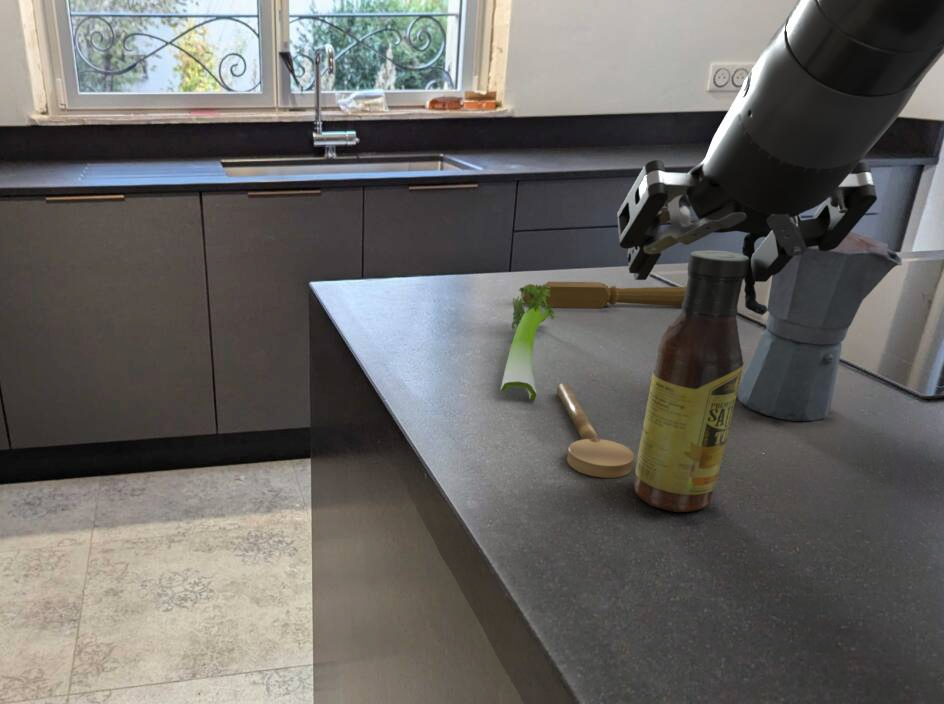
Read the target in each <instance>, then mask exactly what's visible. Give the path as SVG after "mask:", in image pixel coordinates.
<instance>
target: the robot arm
mask: <svg viewBox="0 0 944 704" xmlns="http://www.w3.org/2000/svg"><path fill="white" fill-rule="evenodd" d="M783 21H784V22H783V23H782V24H781V25H780V26H779V28H778V29H777V30H776V31H775V32H774V34H773V35H772V37H771V38H770V39H769V41H768V42H767V44H766V45H765V47H764V48H763V50H762V51H761V53H760V55H759V56H758V58H757V60H756V61H755V63H754V65H753V66H752V69H751V70H750V72H749V73H748V74H747V76H746V77H745V79H744V81H743V83H742V86H741V88H740V90H739V91H738V93H737V95H736V97H734V98H735V99H734V100H733V102H732V103H731V106H730V107H729V109H728V110H727V112H726V114H725V116H724V118H723V119H722V121H721V123H720V125H719V126H718V128H717V130H716V132H715V133H714V135H713V137H712V140H711V142H710V145H709V147H708V150H707V153H706V155H705V156H704V159H703V160H702V161H701V162H699V164H697V165H695V166H693V168H691V169H690V170H689V172H666V170H665V169H666V168H665V163H664V161H662V160H659V159H654V160H651V161H648V162H647V163H645V164H644V166H643V168H642V169H641V171H640V172H639V175H638V176H637V178H636V180H635V181H634V183H633V185H632V186H631V188H630V190H629V192H628V193H627V195H626V197H625V199H624V200H623V202H622V204H621V205H620V208H619V209H618V210H617V213H616V219H617V228H618V229H617V230H618V240H619V247H620V248H622V249H626V250H628V251H627V263H628V272H629V274H633V278H634V280H635V281H646V280H647V279H648V277H649V276H650V274H651V272H652V271H653V269H654V267H655V266H656V264H657V262H658V261H659V259H660V257H661V256H662V252H663V251H664V250H667V249H669V248H670V247H672V246H674V245H677V244H679V243H680V244H683V245H685V246H688V245H690V244H693V243H694V242H697V241H698V240H700V239H703V238H704V237H707V236H708V235H710V234H722V233H723V234H725V233H731V232H740V233H744V234H745V233H746V234H749V233H760V231H761V230H765V229H769V228H770V229H772V231H771V232H770V234H769V235H768V236H767V237H765V239H764V240H763V241H762V242H761V244H760V245H759V246H758V248H756V250H755V253H754V254H753V255H752V258H751V267H752V273H753V279H754V281H755V283H766V282H768V281H769V279H770V278H772V275H775V274H777V273H779V272H780V271H781V270H782V269H783V268H784V267H785V265H786V264H787V263H788V262H789V261H790V260H791V259H792V258H793V256H797V255H800V254H802V253H804V252H805V251H806V250H807V247H813V246H818V249H819V250H820V251H829V250H832V249H835V248H836V247H838V246H839V244H840V243H841V242H842V241H843V240H844V238H845V237H846V236H847V235H848V234H849V232H852V231H853V229H854V228H855V227H856V226H857V224H858V223H859V222H860V221H861V220H862V218H863V217H864V216H865V215H866V213H867V212H868V211H869V210H870V209H871V207H872V206H873V205H874V204H875V203H876V202H877V200H878V196H877V192H876V185H875V182H874V181H875V180H874V176H873V174H872V169H871V165H870V163H869V162H866V161H862V160H863V159H864V158H865V156H866V155H867V154H868V153H869V152H870V151H871V149H872V148H873V147H874V146H875V144H876V143H877V142H878V141H879V140H880V138H881V137H883V135H884V134H885V133H886V131H887V130H888V129H889V128H890V127H891V126H892V125H893V124H894V122H895V121H896V120H897V118H898V117H899V116H900V114H901V113H902V112H903V111H904V110H905V107H906V106H907V105H908V103H909V101H910V100H911V98H912V97H913V95H914V94H915V92H916V90H917V89H918V87H919V85H920V84H921V82H922V81H923V80H924V79H925V77H926V76H927V74H928V73H929V72H930V71H931V70H932V68H933V67H934V66H935V65H936V64H937V62H938V61H939V60H940V59H941V58H942V56H944V0H796V3H795V5H794V7H793V8H792V10H791V11H790V13H789V14H788V16H787V17H786V19H784V20H783ZM818 206H819V207H818ZM816 207H818V209H817V210H816V211H815V213H814V214H813V215H812V218H808V219H802V216H801V214H803V213H806V212H807V211H810V210H812V209H815V208H816ZM691 208H692V210H693V212H694V213H695V215H696V217H697V219H698V220H695V221H694V222H692V219H691V212H690V209H691ZM666 223H670V226H669V228H668V229H666V230H664V231H662V227H661V226H663V225H665V224H666Z"/></svg>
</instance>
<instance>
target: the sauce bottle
mask: <svg viewBox="0 0 944 704" xmlns="http://www.w3.org/2000/svg"><path fill="white" fill-rule="evenodd" d="M687 264H688V265H687V282H686V287H687V288H686V293H685V298H684V301H683V302H682V306H681V311H682V312H681V313H680V315H679V316H678V317H676V319H675V321H674V322H673V323H672V324H670V325H668V327H667V329H666V331H665V332H664V333H663V334H662V336H661V337H660V343H659V346H658V347H657V358H656V363H655V369H654V370H653V371H652V376H651V382H650V387H649V393H648V398H647V403H646V409H645V414H644V419H643V425H642V431H641V435H640V440H639V441H640V442H639V447H638V451H637V460H636V464H635V479H634V485H633V487H634V491H635V492H634V493H635V494H636V495H637V496H638V499H640V500H641V501H643V502H644V503H646V504H648V505H649V506H651V507H654V508H657V509H662V510H665V511H669V512H673V513H684V512H685V513H687V512H689V513H690V512H695V511H700V510H703V509H704V508H706V507H707V506H708V505H709V504H710V503H711V501H712V497H713V493H714V491H715V489H716V487H717V484H718V479H719V476H720V475H719V474H720V470H721V466H722V461H723V456H724V452H725V448H726V444H727V439H728V436H729V435H728V434H729V430H730V426H731V421H732V417H733V413H734V409H735V404H736V399H737V391H738V388H739V386H740V383H741V382H740V381H741V378H742V373H743V367H744V358H743V352H742V348H741V347H742V346H741V343H740V335H739V329H738V327H739V326H738V321H737V314H738V312H739V310H738V305H739V299H740V295H741V292H742V286H743V282H744V278H745V276H746V275H747V271H748V264H749V258H748V257H747V256H745V255H743V253H738V252H733V251H726V250H695V251H691V253H690V255H689V258H688V263H687Z"/></svg>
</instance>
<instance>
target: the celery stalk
mask: <svg viewBox="0 0 944 704" xmlns="http://www.w3.org/2000/svg"><path fill="white" fill-rule="evenodd" d="M545 284H546V283H543V284H539V285H538V284H535V286H533V285H534V284H532V285H531V287H529V286H528V287H527V288H525V287H526V285H525V286H522V287H520V288H519V289H518V291H519V292H520V293H521V292H523V294H522V298H520V296H519V295H518V296H517V298H515V297H514V296H513V297H512V304H513V313H512V316H513V317H512V322H511V328H512V330H514V329H516V330H515V333H514V337H513V339H512V342H511V345H510V349H509V352H508V357H507V360H506V363H505V368H504V372H503V377H502V381H501V386H500V392H506V391H507V390H508V388H509V387H520V388H521V387H523V388H525V389H527V392H528V397H529V401H530V402H531V403H535V401H536V398H537V396H538V392H537V388H536V383H535V380H534V373H533V350H534V349H533V348H534V342H535V341H534V340H535V336H536V333H537V331H538V328H539V326H540V324H541V323H542V324H541V325H543V324H544V321H545V320H546V319H547V318H548V317H550V319H551V320H553V319H555V318H557V315H556V313H555V312H554V310H553V308H552V307H549V305H548V304H547V302H546V299H548V298H547V297H546V296H549V297H550V296H551V295H550V294H549V292H550V291H551V290H547V288H549V287H550V286H548V285H547V286H546V285H545ZM544 286H545V287H547V288H545V289H546V290H544V291H542V290H543V289H544ZM529 290H530V291H529ZM524 291H525V292H526V294H530V296H531V297H530V298H531V300H532V301H530V300H529V301H528V302H524V301H523V300H524ZM532 296H533V298H534V299H532ZM543 301H544V302H545V304H546V305H544V307H545V308H544V311H543V312H541V311H542V306H543V304H544V303H543ZM528 303H529V304H528ZM551 304H552V303H551ZM525 306H526V308H527V310H526V311H525V309H524V307H525ZM515 326H516V327H515Z"/></svg>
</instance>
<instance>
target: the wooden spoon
mask: <svg viewBox="0 0 944 704" xmlns="http://www.w3.org/2000/svg"><path fill="white" fill-rule="evenodd" d="M556 392H557V395H558V396H559V398H560V400H561V402H562V404H563V406H564V409H565V410H566V412H567V414H568V416H569V417H570V419H571V421H572V423H573V426H574V427H575V429H576V431H577V432H578V434H579V437H580V438H581V439H578V440H576V441H573V442H572V443H571V444H570V445H569V446H568V450H567V458H566V460H567V464H568V465H569V466H570V467H571V468H572V469H573V470H574V471H576V472H579V473H581V474H583V475H586V476H591V477H595V478H605V479H612V478H620V477H624V476H627V475H628V474H630V473H631V472H632V470H633V465H634V461H635V454H634V452H633V450H631V449H630V448H628V447H627V446H626V445H624V444H621V443H619V442H616V441H612V440H607V439H601V438H600V437H599V435H598V434H597V432H596V430H595V428H594V426H593V424H592V423H591V421H590V420H589V418H588V416H587V415H586V413H585V411H584V409H583V408H582V406H581V404H580V402H579V400H578V399H577V397H576V395H575V393H574V391H573V390H572V388H571V386H570V385H569V384H568V383H566V382H562V383H560V384H558V385H557V386H556Z"/></svg>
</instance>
